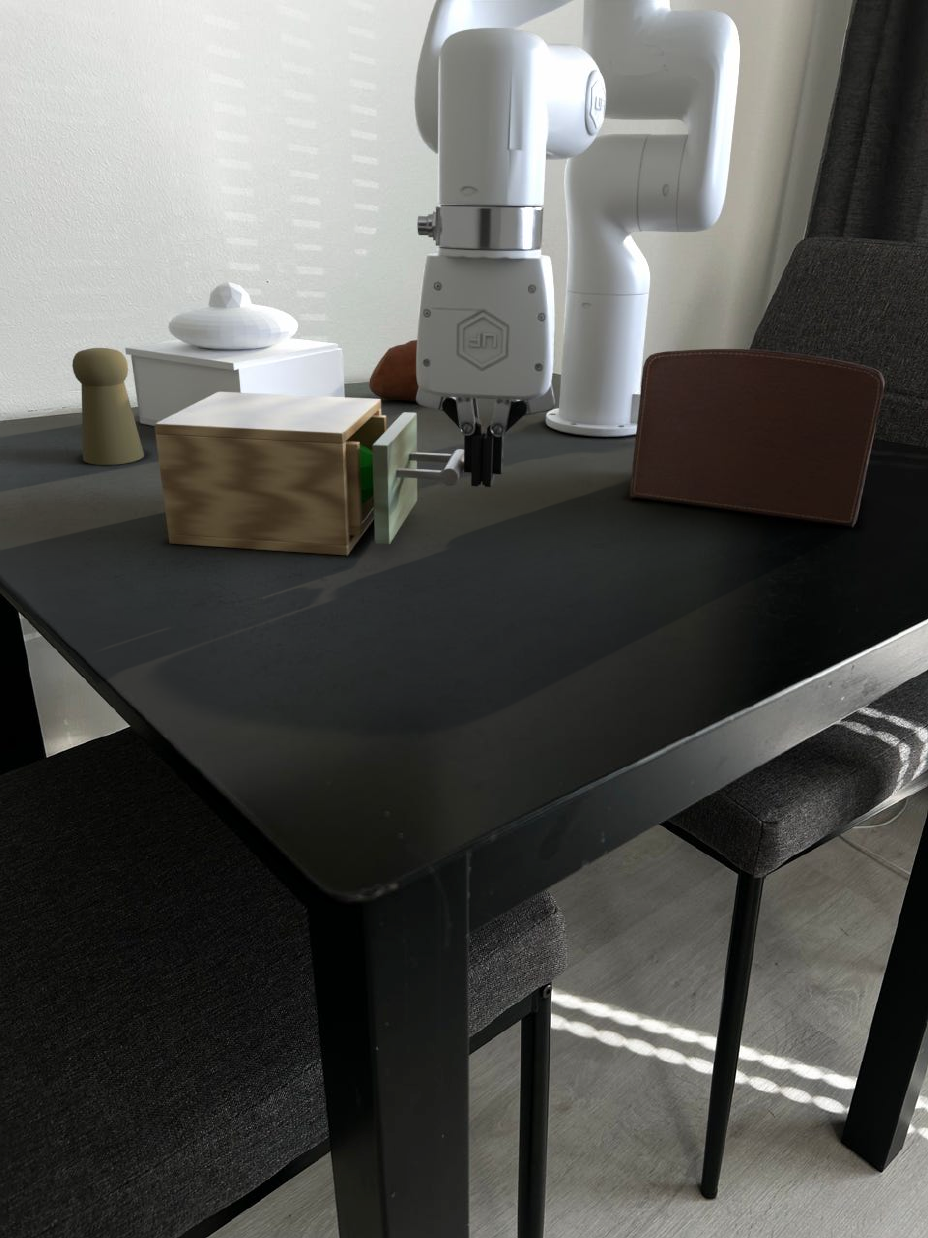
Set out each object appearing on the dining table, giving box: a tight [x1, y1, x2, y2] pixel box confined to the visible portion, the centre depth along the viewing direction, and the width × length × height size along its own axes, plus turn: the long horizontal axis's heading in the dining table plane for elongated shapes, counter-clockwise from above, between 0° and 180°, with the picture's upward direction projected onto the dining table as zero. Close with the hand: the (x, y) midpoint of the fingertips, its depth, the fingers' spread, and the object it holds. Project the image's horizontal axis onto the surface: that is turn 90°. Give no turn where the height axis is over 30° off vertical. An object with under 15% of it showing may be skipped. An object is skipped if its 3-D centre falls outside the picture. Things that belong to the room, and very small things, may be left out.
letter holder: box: [629, 348, 885, 528], centre depth 83 cm, size 10×20×14 cm, turn 68°
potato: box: [368, 339, 419, 403], centre depth 122 cm, size 8×12×8 cm, turn 88°
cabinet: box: [153, 392, 382, 556], centre depth 75 cm, size 15×13×10 cm
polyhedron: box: [360, 445, 374, 503], centre depth 73 cm, size 5×5×5 cm
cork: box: [71, 347, 145, 466], centre depth 93 cm, size 6×6×11 cm
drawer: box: [345, 411, 464, 545], centre depth 75 cm, size 18×11×8 cm, turn 82°
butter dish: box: [124, 281, 346, 427], centre depth 109 cm, size 18×18×16 cm
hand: (483, 481), depth 73 cm, fingers closed
